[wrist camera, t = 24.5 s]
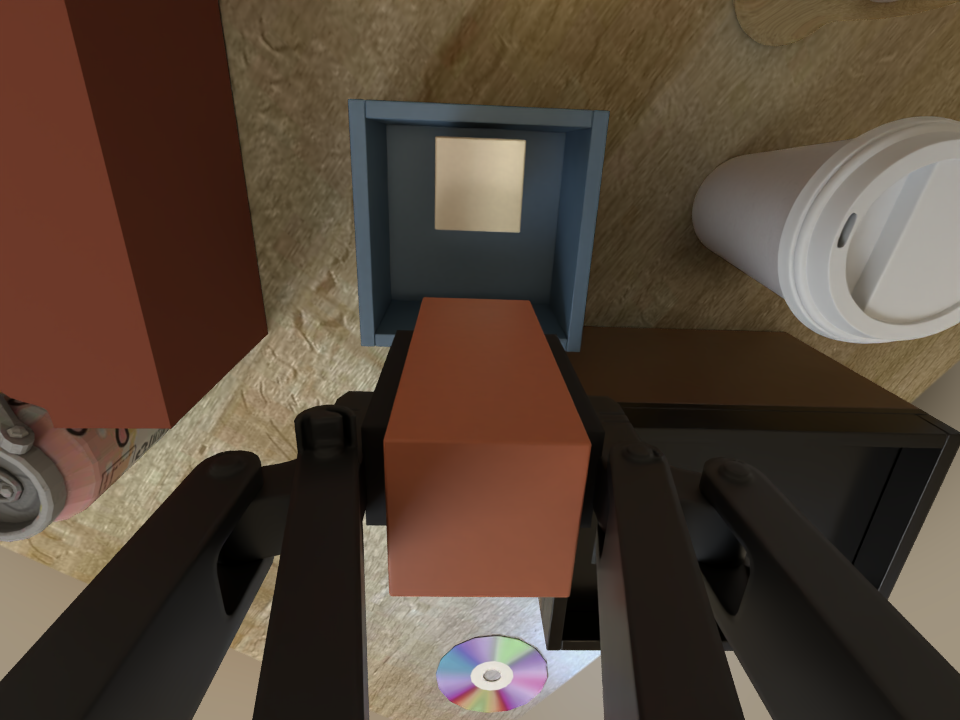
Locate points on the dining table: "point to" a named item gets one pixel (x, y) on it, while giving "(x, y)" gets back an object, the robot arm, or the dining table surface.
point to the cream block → (479, 183)
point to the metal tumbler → (817, 15)
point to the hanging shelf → (121, 211)
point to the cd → (482, 654)
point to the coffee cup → (848, 229)
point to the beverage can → (57, 466)
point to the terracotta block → (482, 457)
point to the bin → (473, 254)
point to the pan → (765, 443)
